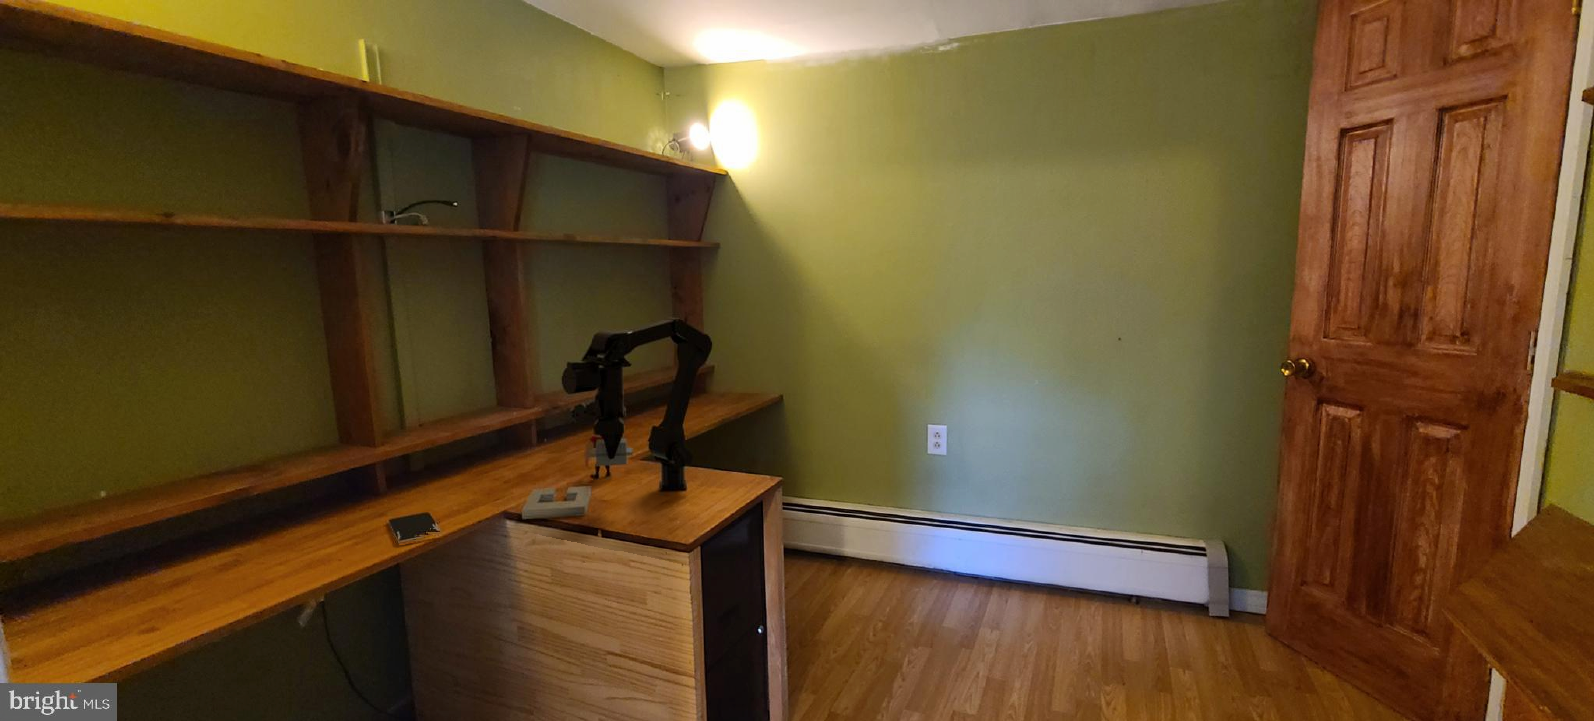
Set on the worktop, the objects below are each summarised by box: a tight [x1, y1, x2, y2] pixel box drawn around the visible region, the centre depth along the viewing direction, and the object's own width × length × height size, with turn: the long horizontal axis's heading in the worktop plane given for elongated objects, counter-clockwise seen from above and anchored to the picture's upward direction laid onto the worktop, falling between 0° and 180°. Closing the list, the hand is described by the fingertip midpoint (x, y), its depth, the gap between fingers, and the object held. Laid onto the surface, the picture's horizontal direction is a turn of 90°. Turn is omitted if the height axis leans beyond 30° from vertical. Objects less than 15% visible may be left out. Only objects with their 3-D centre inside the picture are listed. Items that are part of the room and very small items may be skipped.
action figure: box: [583, 434, 611, 479], centre depth 174 cm, size 10×4×15 cm, turn 129°
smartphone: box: [388, 512, 442, 542], centre depth 138 cm, size 8×1×15 cm
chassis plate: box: [521, 485, 592, 520], centre depth 153 cm, size 14×13×2 cm
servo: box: [590, 438, 634, 467], centre depth 153 cm, size 8×9×5 cm
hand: (611, 456), depth 152 cm, fingers closed on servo, 4 cm apart
